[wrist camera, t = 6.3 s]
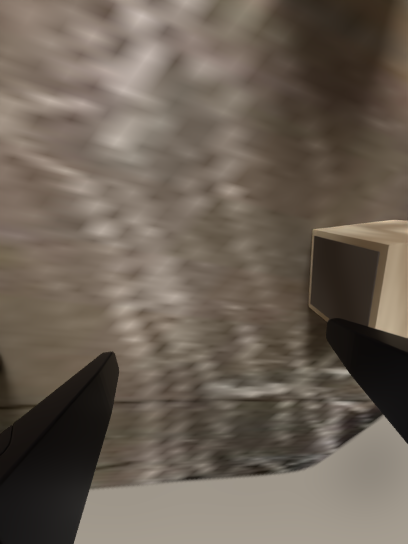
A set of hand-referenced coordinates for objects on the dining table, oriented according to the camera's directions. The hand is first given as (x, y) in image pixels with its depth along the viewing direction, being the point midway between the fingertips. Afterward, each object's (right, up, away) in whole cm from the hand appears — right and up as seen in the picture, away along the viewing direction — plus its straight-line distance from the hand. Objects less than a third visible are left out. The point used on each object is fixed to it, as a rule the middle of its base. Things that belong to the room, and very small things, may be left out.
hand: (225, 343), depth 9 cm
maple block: (+7, +2, +4) cm, 9 cm away
